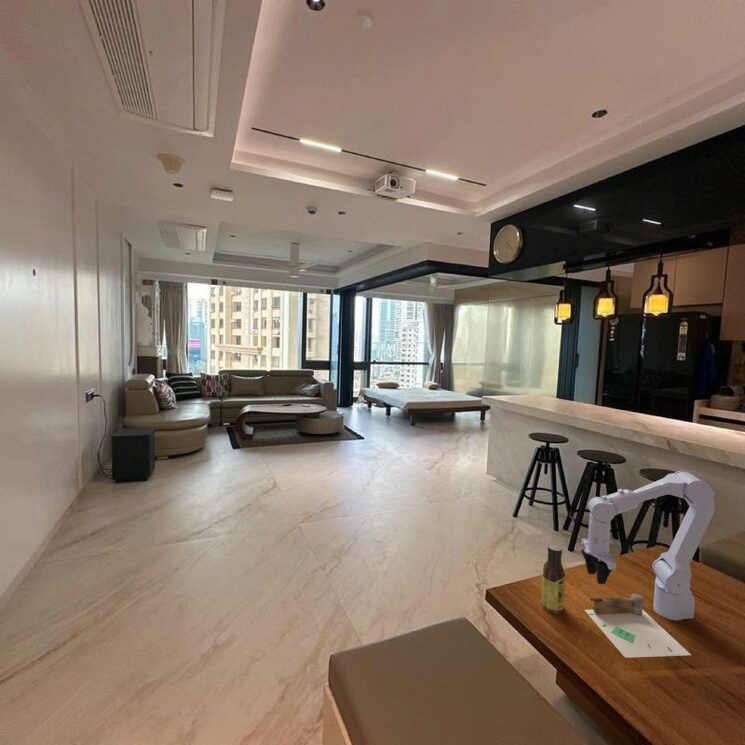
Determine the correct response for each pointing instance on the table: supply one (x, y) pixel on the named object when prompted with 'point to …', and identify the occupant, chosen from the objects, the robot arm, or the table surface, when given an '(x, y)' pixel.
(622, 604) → the tuning lever
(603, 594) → the table surface
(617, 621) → the tuner dial board
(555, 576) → the sauce bottle
